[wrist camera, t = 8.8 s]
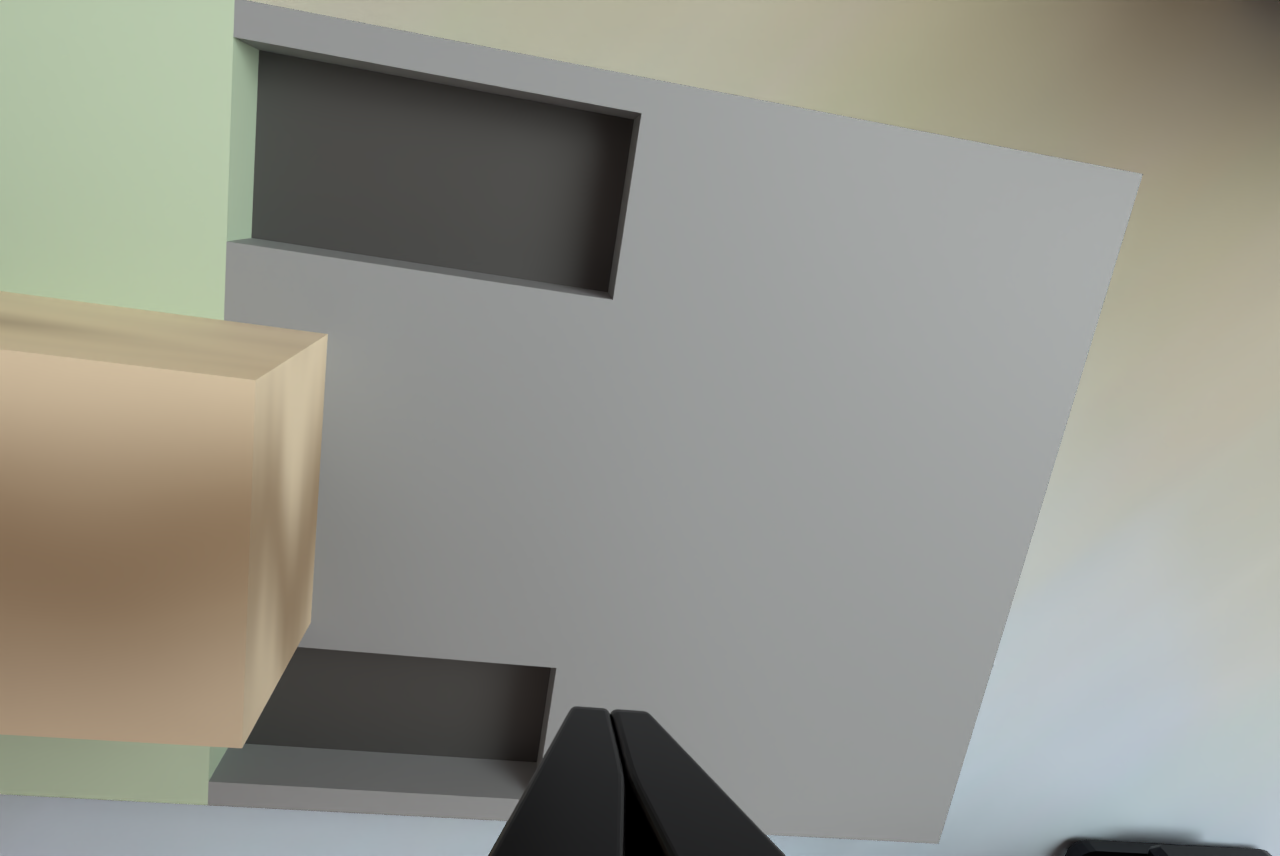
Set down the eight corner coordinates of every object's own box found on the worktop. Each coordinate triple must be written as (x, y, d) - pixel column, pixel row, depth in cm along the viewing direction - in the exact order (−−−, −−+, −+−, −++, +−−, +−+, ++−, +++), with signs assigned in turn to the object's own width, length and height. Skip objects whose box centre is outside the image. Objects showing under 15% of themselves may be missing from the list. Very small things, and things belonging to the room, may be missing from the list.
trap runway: (912, 800, 22) (1003, 950, 17) (-103, 738, 18) (-306, 908, 14) (1093, 175, 18) (1271, 169, 13) (-167, -66, 14) (-481, -182, 10)
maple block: (310, 622, 17) (241, 748, 13) (-12, 596, 16) (-188, 723, 12) (327, 334, 15) (255, 379, 11) (-28, 287, 14) (-234, 320, 11)
